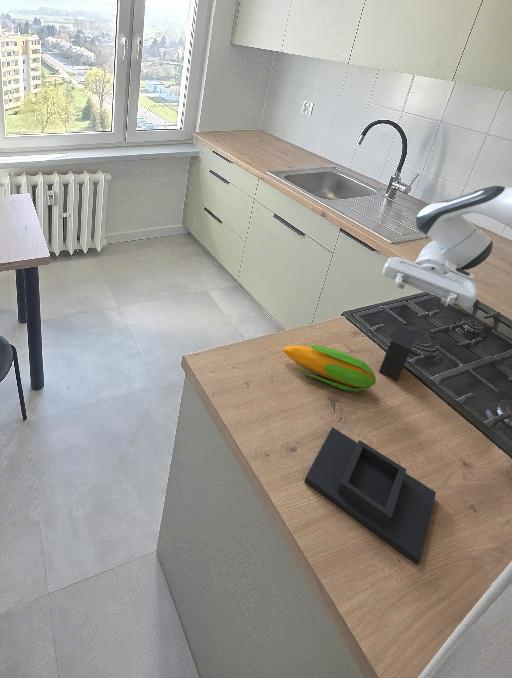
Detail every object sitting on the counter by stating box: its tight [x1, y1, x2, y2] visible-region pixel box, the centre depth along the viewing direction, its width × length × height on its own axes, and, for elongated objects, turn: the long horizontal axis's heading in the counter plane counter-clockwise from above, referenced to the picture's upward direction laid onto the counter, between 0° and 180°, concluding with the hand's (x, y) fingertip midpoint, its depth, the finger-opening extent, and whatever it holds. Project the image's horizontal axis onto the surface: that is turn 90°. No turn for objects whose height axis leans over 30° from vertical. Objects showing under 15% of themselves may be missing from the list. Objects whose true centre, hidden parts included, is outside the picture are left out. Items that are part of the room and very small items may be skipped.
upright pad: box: [378, 325, 417, 382], centre depth 100 cm, size 4×7×10 cm, turn 137°
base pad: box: [303, 426, 437, 566], centre depth 75 cm, size 18×14×4 cm
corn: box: [283, 344, 377, 392], centre depth 97 cm, size 7×8×20 cm
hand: (421, 294), depth 104 cm, fingers open, 8 cm apart
